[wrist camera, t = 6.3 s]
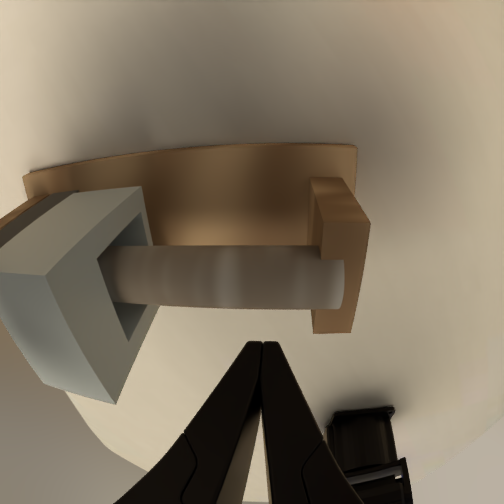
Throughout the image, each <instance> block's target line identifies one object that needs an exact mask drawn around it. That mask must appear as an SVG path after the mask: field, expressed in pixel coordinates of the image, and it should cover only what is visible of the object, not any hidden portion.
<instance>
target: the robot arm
mask: <svg viewBox="0 0 504 504" xmlns="http://www.w3.org/2000/svg"><path fill="white" fill-rule="evenodd" d="M261 413H262V428H263V439H264V451H265V463H266V475H267V487H268V498H269V504H413V499H412V491H411V485H410V479H409V473H408V468H407V463H406V458H405V457H404V458H400V460H398V459H397V453H396V447H395V441H394V436H393V431H392V426H391V421H390V419H391V417H392V416H393V414H394V413H395V408H394V407H388V408H380V409H370V410H360V411H348V412H337V413H334V414H333V416H332V419H331V422H330V424H329V425H328V426H327V427H326V429H325V432H324V435H322V433H321V431H320V429H319V427H318V425H317V422H316V420H315V418H314V416H313V414H312V412H311V410H310V408H309V406H308V404H307V401H306V399H305V397H304V395H303V393H302V391H301V389H300V387H299V385H298V383H297V380H296V378H295V376H294V374H293V372H292V370H291V368H290V366H289V363H288V361H287V359H286V357H285V355H284V353H283V351H282V348H281V346H280V344H279V343H278V342H276V341H265V342H264V343H262V342H261V341H248V342H247V343H246V344H245V346H244V347H243V349H242V350H241V352H240V353H239V355H238V356H237V358H236V359H235V360H234V362H233V363H232V365H231V366H230V368H229V369H228V370H227V372H226V373H225V375H224V376H223V378H222V379H221V380H220V382H219V383H218V385H217V386H216V387H215V389H214V390H213V392H212V393H211V394H210V396H209V397H208V399H207V400H206V401H205V403H204V404H203V406H202V407H201V408H200V410H199V411H198V412H197V414H196V415H195V416H194V418H193V419H192V421H191V422H190V423H189V425H188V426H187V427H186V429H185V430H184V433H182V434H181V435H180V436H179V438H178V439H177V440H176V442H175V443H174V444H173V445H172V447H171V448H170V449H169V450H168V452H167V453H166V454H165V455H164V456H163V458H162V459H161V460H160V461H159V462H158V463H157V464H156V465H155V466H154V467H153V468H152V469H151V470H150V471H149V472H148V473H147V474H146V475H145V476H144V477H143V478H142V479H141V480H140V481H138V482H137V483H136V484H135V485H134V486H133V487H132V488H131V489H130V490H129V491H128V492H126V493H125V494H124V495H123V496H122V497H121V498H120V499H119V500H117V501H116V502H115V503H113V504H242V500H243V496H244V491H245V487H246V482H247V478H248V473H249V469H250V464H251V460H252V455H253V450H254V446H255V441H256V436H257V431H258V426H259V421H260V415H261ZM399 475H401V476H402V478H398V479H395V477H396V476H399Z"/></svg>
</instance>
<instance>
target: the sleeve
mask: <svg viewBox="0 0 504 504" xmlns="http://www.w3.org/2000/svg"><path fill="white" fill-rule="evenodd" d="M107 246H153V242H152V238H151V233H150V228H149V223H148V218H147V213H146V208H145V203H144V197H143V192H142V186H136V187H125V188H115V189H105V190H96V191H87V192H79V193H73V194H72V195H70V196H69V197H67V198H66V199H64V200H63V201H61V202H60V203H59V204H57V205H56V206H54V207H53V208H51V209H50V210H49V211H47V212H46V213H45V214H43V215H42V216H40V217H39V218H38V219H36V220H35V221H34V222H32V223H31V224H30V225H29V226H27V227H26V228H25V229H23V230H22V231H21V232H20V233H18V234H17V235H16V236H15V237H13V238H12V239H11V240H10V241H8V242H7V243H6V244H5V245H4V246H2V247H1V248H0V318H1V320H2V322H3V323H4V325H5V327H6V329H7V330H8V332H9V333H10V335H11V337H12V338H13V340H14V341H15V343H16V345H17V346H18V347H19V349H20V351H21V352H22V354H23V355H24V357H25V358H26V360H27V361H28V363H29V364H30V365H31V367H32V368H33V369H34V371H35V372H36V373H37V375H38V376H39V378H40V379H41V380H42V382H43V383H44V384H47V385H49V386H52V387H56V388H58V389H61V390H64V391H68V392H71V393H74V394H78V395H81V396H84V397H88V398H92V399H95V400H99V401H103V402H107V403H111V404H115V405H116V403H117V401H118V398H119V396H120V393H121V391H122V389H123V386H124V384H125V382H126V379H127V377H128V375H129V372H130V370H131V368H132V365H133V363H134V361H135V359H136V356H137V354H138V352H139V350H140V347H141V345H142V343H143V341H144V339H145V336H146V334H147V332H148V330H149V328H150V326H151V323H152V321H153V319H154V317H155V315H156V313H157V311H158V309H159V307H160V305H147V304H133V303H120V302H112V301H111V298H110V296H109V293H108V290H107V287H106V285H105V282H104V279H103V276H102V273H101V270H100V267H99V264H98V261H97V258H98V257H99V255H100V254H101V253H102V252H103V251H104V250H105V249H106V248H107Z"/></svg>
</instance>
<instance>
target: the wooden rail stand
mask: <svg viewBox="0 0 504 504" xmlns="http://www.w3.org/2000/svg"><path fill="white" fill-rule="evenodd" d="M356 165H357V148H356V147H355V146H354V145H341V144H310V143H264V144H234V145H215V146H200V147H188V148H176V149H166V150H157V151H149V152H140V153H133V154H126V155H119V156H112V157H106V158H100V159H94V160H88V161H83V162H77V163H72V164H67V165H62V166H57V167H53V168H48V169H44V170H39V171H35V172H31V173H28V174H26V175H25V176H23V177H22V178H23V182H24V186H25V190H26V194H27V198H28V201H26V202H25V203H23V204H22V205H20V206H19V207H17V208H16V209H14V210H13V211H11V212H10V213H8V214H7V215H5V216H4V217H3V218H1V219H0V230H1V229H2V228H4V227H5V226H6V225H8V224H9V223H10V222H12V221H13V220H14V219H16V218H17V217H19V216H20V215H21V214H23V213H24V212H26V211H27V210H29V209H30V208H31V207H33V206H34V205H36V204H37V203H39V202H40V201H42V200H43V199H45V198H46V197H48V196H49V195H51V194H53V193H59V192H66V191H73V190H79V192H87V191H96V190H105V189H115V188H125V187H136V186H142V192H143V197H144V203H145V208H146V213H147V218H148V223H149V228H150V233H151V238H152V242H153V246H107V248H106V249H105V250H104V251H103V252H102V253H101V254H100V255H99V257H98V258H97V261H98V264H99V267H100V270H101V273H102V276H103V279H104V282H105V285H106V287H107V290H108V293H109V296H110V298H111V301H112V302H120V303H133V304H147V305H162V306H180V307H201V308H229V309H311V316H312V326H313V334H325V333H351V329H352V325H353V320H354V316H355V311H356V306H357V302H358V297H359V292H360V286H361V281H362V276H363V270H364V264H365V258H366V252H367V246H368V239H369V232H370V225H371V223H370V221H369V219H368V218H367V216H366V214H365V213H364V211H363V210H362V208H361V206H360V205H359V203H358V202H357V200H356V198H355V197H354V194H355V181H356Z"/></svg>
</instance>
